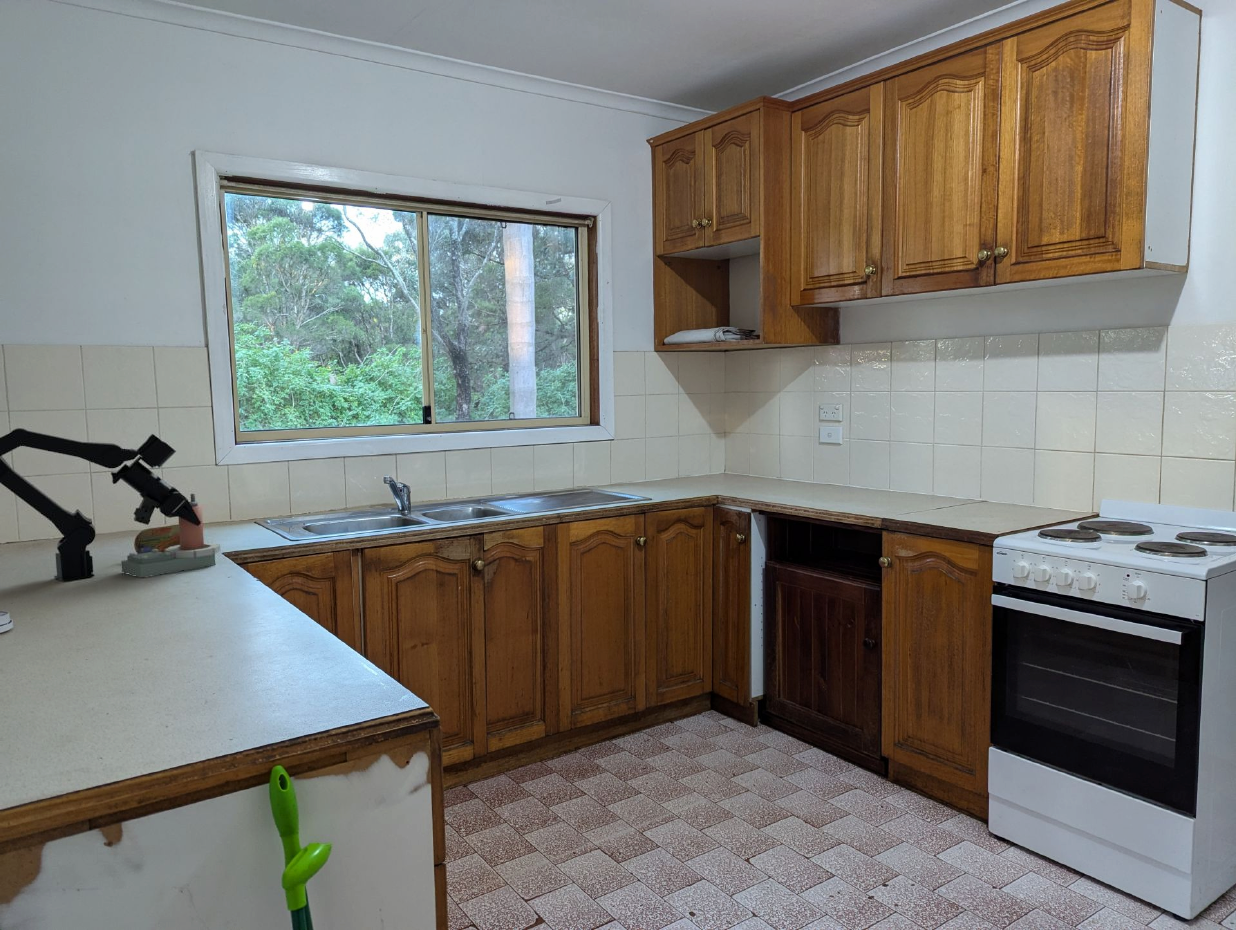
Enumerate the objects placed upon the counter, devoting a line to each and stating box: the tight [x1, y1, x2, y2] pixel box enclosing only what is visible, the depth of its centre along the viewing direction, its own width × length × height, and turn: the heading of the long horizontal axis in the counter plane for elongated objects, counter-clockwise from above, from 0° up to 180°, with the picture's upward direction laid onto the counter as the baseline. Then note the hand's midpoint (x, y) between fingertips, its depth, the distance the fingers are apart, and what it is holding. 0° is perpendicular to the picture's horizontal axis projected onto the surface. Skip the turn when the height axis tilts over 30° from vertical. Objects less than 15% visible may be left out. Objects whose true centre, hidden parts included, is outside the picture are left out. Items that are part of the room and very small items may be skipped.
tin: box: [133, 523, 180, 554], centre depth 227 cm, size 15×3×8 cm, turn 143°
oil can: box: [178, 493, 205, 550], centre depth 216 cm, size 5×5×15 cm
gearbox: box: [120, 542, 221, 578], centre depth 213 cm, size 21×12×5 cm, turn 143°
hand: (197, 522), depth 217 cm, fingers open, 9 cm apart
